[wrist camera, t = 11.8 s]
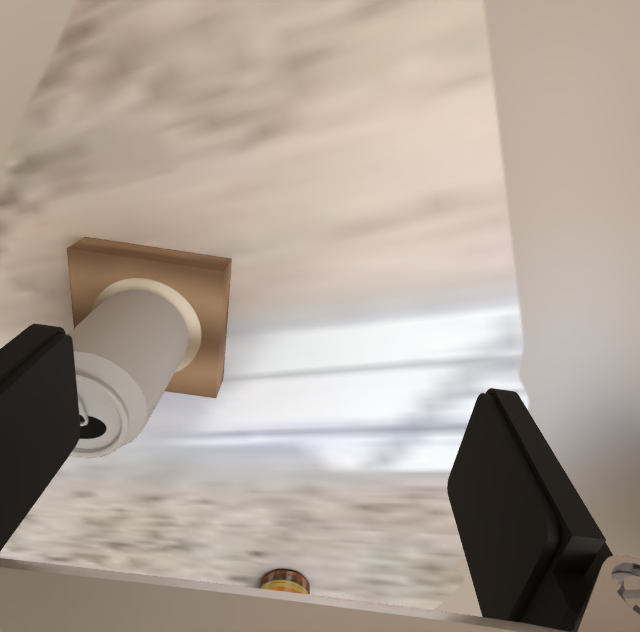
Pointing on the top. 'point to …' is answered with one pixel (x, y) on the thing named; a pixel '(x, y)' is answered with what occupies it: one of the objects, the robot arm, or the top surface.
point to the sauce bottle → (285, 582)
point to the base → (174, 286)
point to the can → (124, 367)
